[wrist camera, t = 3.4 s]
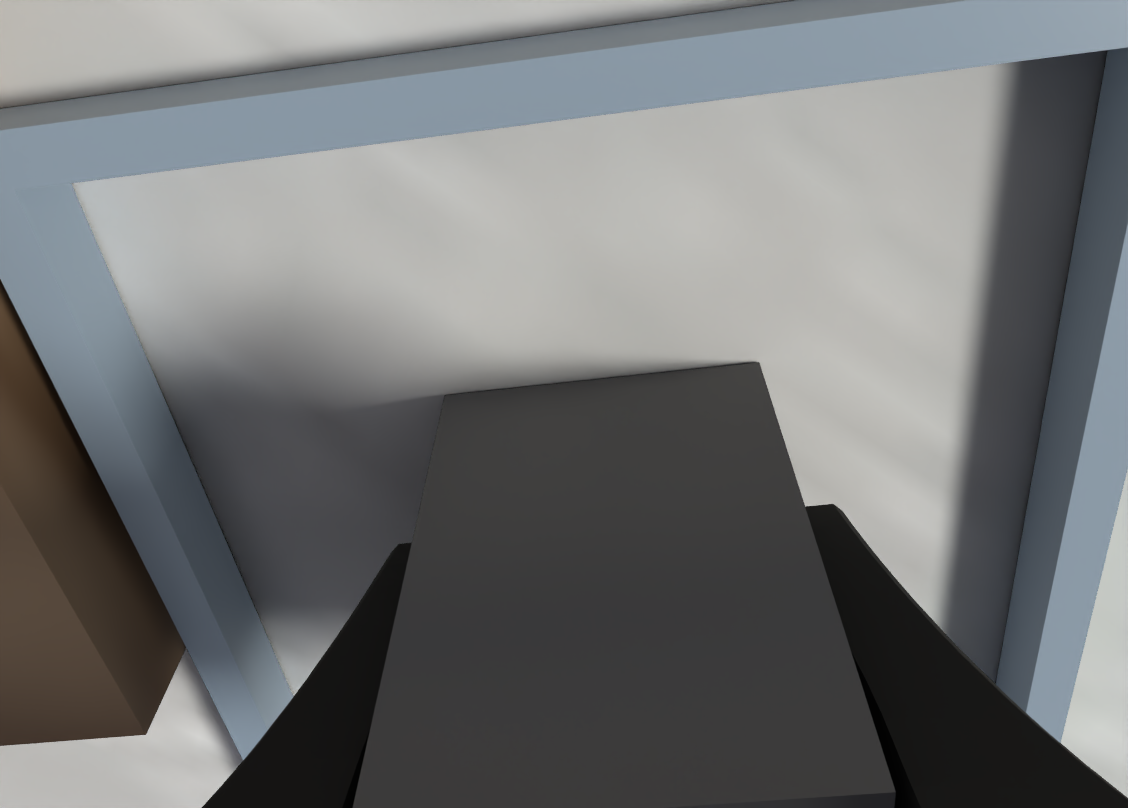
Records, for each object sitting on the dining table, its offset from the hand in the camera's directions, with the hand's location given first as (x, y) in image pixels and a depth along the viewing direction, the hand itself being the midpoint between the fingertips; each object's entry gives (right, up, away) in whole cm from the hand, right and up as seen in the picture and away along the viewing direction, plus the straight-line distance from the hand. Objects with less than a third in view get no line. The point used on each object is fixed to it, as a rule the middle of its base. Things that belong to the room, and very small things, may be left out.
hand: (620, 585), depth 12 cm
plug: (0, +1, +1) cm, 2 cm away
